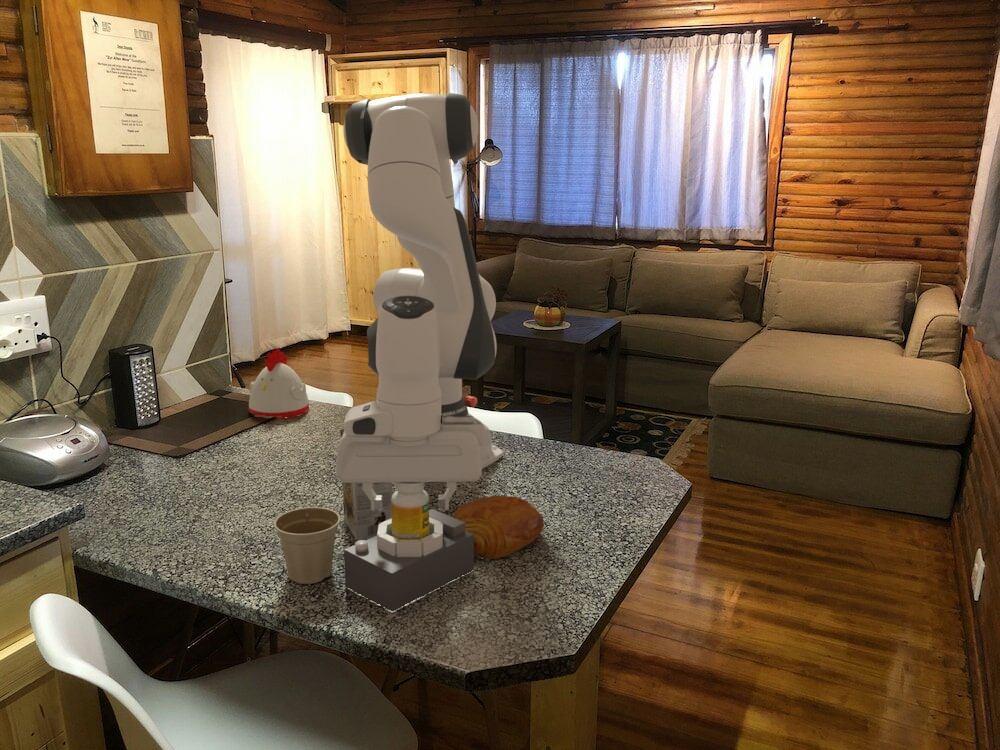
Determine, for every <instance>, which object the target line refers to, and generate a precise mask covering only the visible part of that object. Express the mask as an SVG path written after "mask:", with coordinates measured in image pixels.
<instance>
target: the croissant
mask: <svg viewBox="0 0 1000 750" xmlns="http://www.w3.org/2000/svg"><path fill="white" fill-rule="evenodd" d="M452 517H453V518H455V519H458V520H460V521H463V522H465V531H467V532H470V533H472V534H474V556H475V557H477V558H479V557H480V558H479V559H481V558H483V559H482V560H486V559H495V560H498V559H500V558H503V557H507V556H509V555H511V554H513V553H515V552H517V551H519V550H521V549H522V548H524V547H526V546H527V545H530V544H531V543H533V542H534V541H535V540H536V539H537V538H538V537H539V535H541V532H542V530H543V529H544V526H545V525H544V522H545V521H544V517H543V516H542V515H541V514H540V512H539V510H538V509H537V508H536V507H535V506H533V505H531V504H530V503H529V502H528V501H526V500H525V499H522V498H520V497H516V496H509V495H508V496H507V495H491V496H490V495H489V496H483V497H481V498H478V499H475V500H471V501H469V502H466V503H464V504H463V505H461V506H460V507H459V508H458V509H456V510H455V511H454V513H453V516H452Z"/></svg>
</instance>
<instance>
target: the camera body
mask: <svg viewBox="0 0 1000 750" xmlns="http://www.w3.org/2000/svg"><path fill="white" fill-rule="evenodd" d="M343 552H344V553H343V554H344V555H343V556H344V583H345V585H344V586H345V587H347V588H350V589H352V590H353V591H355V592H357V593H358V594H361V595H362V596H364V597H366V598H368V599H370V600H372V601H374V602H376V603H377V604H380V605H381V606H383V607H385V608H387V609H389V610H391V611H394V610H396V609H398V608H400V607H401V606H404V605H405V604H407V603H410V602H411V601H413V600H415V599H417V598H419V597H421V596H424V595H425V594H428V593H429V592H431V591H433V590H435V589H437V588H438V587H441V586H443V585H445V584H446V583H448V582H450V581H452V580H454V579H457V578H458V577H461V576H462V575H465V574H467V573H469V572H471V571H472V570H474V567H475V566H474V565H475V564H474V563H475V562H474V559H475V557H474V534H472V533H470V532H467V531H465V522H463V521H460V520H458V519H455V518H453V516H451V515H448V514H445V513H443V512H440V511H439V510H436V509H433V508H431V509H429V536H426V537H424V538H422V539H420V540H399V539H396V538H394V537H392V518H391V519H389V520H387V521H384V522H382V523H380V524H379V527H378V532H377V536H375V537H372V538H370V539H365V540H358V541H355V542H354V545H352V546H349V547H347V548H344V549H343ZM471 573H472V572H471ZM469 574H470V573H469ZM467 575H468V574H467ZM465 576H466V575H465Z"/></svg>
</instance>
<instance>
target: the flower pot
mask: <svg viewBox="0 0 1000 750" xmlns="http://www.w3.org/2000/svg"><path fill="white" fill-rule="evenodd" d="M341 520H342V519H341V515H340V514H339V513H338V512H337V511H335V510H333V509H330V508H326V507H321V506H320V507H319V506H306V507H302V508H301V507H300V508H296V509H295V508H294V509H292V510H288V511H285V512H284V513H282V514H279V516H277V517H276V518H275V519H274V521H273V528H274V529H275V530H276V531H277V536H278V538H279V539H280V543H281V547H282V551H283V557H284V560H285V566H286V570H287V576H288V579H289V580H291V581H295V582H296V583H298V584H303V585H309V584H315V583H321V581H323V579H325V578H329V577H330V576H331V575H332V571H333V560H334V550H335V544H336V543H335V540H336V533H337V532H338V527H339V525H340V524H341Z"/></svg>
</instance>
